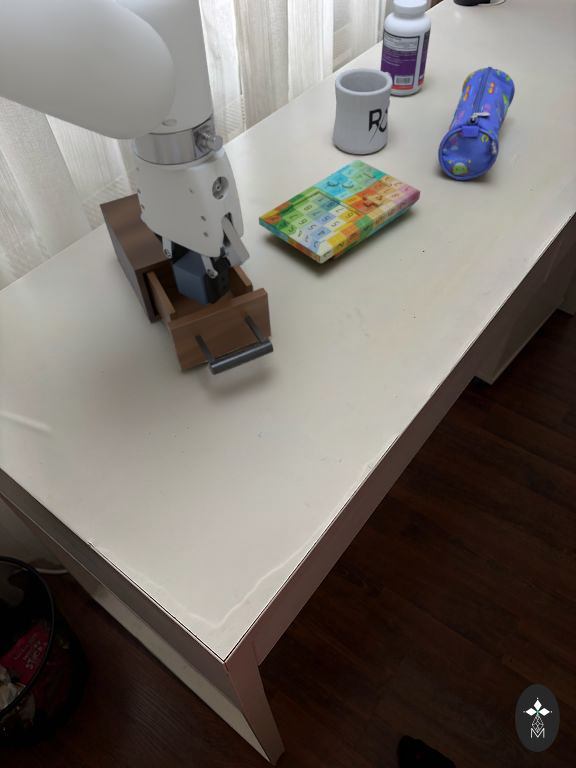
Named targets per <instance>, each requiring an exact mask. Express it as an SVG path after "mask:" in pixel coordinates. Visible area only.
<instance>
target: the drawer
mask: <svg viewBox="0 0 576 768" xmlns="http://www.w3.org/2000/svg"><path fill="white" fill-rule="evenodd" d="M227 270H228V277H229V284H230V289H229V291H228V292H227V293H226V294H225V295H224V296H222V297H221V298H220V299H219V300H218V301H217V302H216V303H215V304H211V303H208V304H207V305H206V306H205V305H203V304H201V303H199V302H197V301H195V300H193V299H191V298H189V297H187V296H185V295H183V294H181V293H179V290H178V287H176V284H175V280H174V276H173V272H172V267H171V264H168V265H165V266H162V267H159V268H156V269H153V270H150V271H147V272H144V273H143V276H144V279H145V283H146V286H147V290H148V293H149V296H150V298H151V300H152V302H153V304H154V306H155V307H156V309H157V311H158V313H159V315H160V317H161V321H162V323H163V324H164V326H165V328H166V330H167V332H168V334H169V336H170V340H171V343H172V347H173V350H174V354H175V357H176V362H177V364H178V366H179V368H180V371H181V372H182V371H185V370H188V369H190V368H193V367H195V366H198V365H200V364H203V363H205V362H207V363H208V368H209V371H210V373H211V374H212V376H216V375H219V374H222V373H224V372H227V371H229V370H232V369H234V368H236V367H239V366H242V365H244V364H247V363H249V362H252V361H255V360H256V359H258V358H259V359H260V358H261V357H264V356H266V355H269V354H272V353H273V352H274V344H273V343H272V341H271V340H269V339H267V338H270V337H272V330H271V329H272V328H271V319H270V318H271V317H270V316H271V315H270V306H269V294H268V292H267V291H266V289H265V288H264V287H260V288H257V289H255V290H254V286H253V285H254V284H253V282H252V281H251V280H250V278H249V277H248V275H247V274H246V272H245V271H244V270H243V268H242V267H241V265H240V266H235V267H229V268H228V269H227ZM257 342H258V343H257ZM254 343H256V344H254ZM251 344H254V345H252V346H249V345H251ZM246 346H249V347H247V348H244V347H246ZM242 348H243V349H242ZM239 349H241V350H239ZM236 350H239V351H236ZM234 351H236V352H234ZM231 352H234V353H231ZM229 353H231V354H229ZM226 354H229V355H226ZM223 355H226V356H224V357H222V356H223ZM218 357H220V358H219V359H216V358H218Z"/></svg>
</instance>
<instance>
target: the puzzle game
mask: <svg viewBox="0 0 576 768" xmlns="http://www.w3.org/2000/svg"><path fill="white" fill-rule="evenodd" d="M420 197H421V190H419V189H417V188H415V187H414V186H411V185H409V184H407V183H406V182H403V181H401V180H399V179H398V178H396V177H393V176H392V175H390V174H387V173H386V172H383V171H381V170H379V169H377V168H376V167H374V166H371V165H370V164H367V163H365V162H364V161H361V160H359V159H355V160H353V161H352V162H350V163H348V164H347V165H345V166H343V167H342V168H340V169H338V170H336V171H335V172H333V173H332V174H330V175H328V176H327V177H325V178H323V179H321V180H320V181H318V182H317V183H315V184H313V185H312V186H310V187H308V188H306V189H305V190H303V191H301V192H300V193H298V194H296V195H294V196H292V197H291V198H290V199H288V200H286V201H284V202H283V203H281V204H279V205H278V206H276V207H275V208H273V209H271V210H269V211H267V212H266V213H264V214H263V215H261V216H259V217H258V225H260V226H261V227H262V228H264V229H266V230H267V231H269V232H270V233H272V234H273V235H275V236H277V237H278V238H280V239H281V240H282V241H284V242H286V243H288V244H290V245H291V246H292V247H293V248H295V249H297V250H299V251H300V252H301V253H303V254H305V255H306V256H307V257H309V258H311V259H312V260H314V261H316V262H317V263H319V264H324V263H325V262H326V261H328V260H329V259H332V260H333V261H335V260H336V259H337V258H339V257H341V255H343V254H345V253H346V252H348V251H350V249H352V248H354V247H355V246H356V245H358V244H360V243H361V242H363V241H364V240H366V239H368V238H369V237H370V236H372V235H373V234H375V233H376V232H378V231H379V230H381V229H382V228H384V227H386V226H387V225H388V224H390V223H392V222H393V221H394V220H396V219H397V218H399V217H400V216H402V215H403V214H405V213H406V212H407V211H409V210H410V209H411V208H412V207H413V206H414V205H415V204H416V203H417V202H418V201H419V200H420Z"/></svg>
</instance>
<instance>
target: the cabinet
mask: <svg viewBox="0 0 576 768" xmlns="http://www.w3.org/2000/svg"><path fill="white" fill-rule="evenodd" d="M99 208H100V210H101V211H100V212H101V214H102V217H103V220H104V223H105V227H106V228H107V233H108V235H109V238H110V241H111V244H112V248H113V249H114V253H115V256H116V259H117V261H118V262H119V265H120V267H121V269H122V271H123V272H124V274H125V277H126V278H127V280H128V282H129V284H130V286H131V288H132V290H133V292H134V295H135V297H136V298H137V300H138V302H139V304H140V306H141V308H142V310H143V311H144V313H145V315H146V318H147V319H148V322H149V323H150V324H153V323H156V322H159V321H162V319H161V317H160V315H159V313H158V311H157V309H156V307H155V306H154V304H153V302H152V300H151V298H150V296H149V293H148V290H147V286H146V283H145V279H144V276H143V273H144V272H147V271H150V270H153V269H156V268H159V267H162V266H165V265H168V264H171V263H170V260H171V258H168V257H167V256H166V255H165V254H164V251H163V244H162V243H161V242H160V241H159V239H158V238H157V237H156V236H155V234H154V232H153V231H152V230H151V229H150V228H149V227H148V226H147V225H146V224H145V223H144V222H143V220H142V219H141V213H142V210H141V206H140V202H139V198H138V193H137V192H136V193H132V194H130V195H125V196H123V197H120V198H117V199H113V200H110V201H107V202H103V203H99Z"/></svg>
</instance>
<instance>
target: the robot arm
mask: <svg viewBox="0 0 576 768" xmlns="http://www.w3.org/2000/svg"><path fill="white" fill-rule="evenodd" d="M203 29H204V28H203V22H202V15H201V8H200V0H0V97H1V98H3V99H6V100H8V101H11V102H13V103H15V104H18V105H21V106H23V107H26V108H29V109H32V110H34V111H37V112H39V113H42V114H44V115H46V116H50V117H52V118H55V119H57V120H60V121H62V122H63V121H64V122H66V123H68V124H70V125H71V124H72V125H74V126H76V127H79V128H83V129H85V130H88V131H89V132H93V133H95V134H98V135H101V136H104V137H107V138H110V139H113V140H130V141H131V157H132V169H133V175H134V183H135V188H136V193H138V198H139V202H140V206H141V210H142V213H141V219H142V220H143V222H144V223H145V224H146V225H147V226H148V227H149V228H150V229H151V230H152V231H153V232H154V234H155V236H156V237H157V238H158V239H159V241H160V242H161V243H162V244H163V251H164V254H165V255H166V256H167V257H168V258H171V260H170V263H171V267H172V272H173V276H174V280H175V284H176V287H178V286H177V282H176V277H175V273H174V269H173V264H174V263H176V262H177V261H178V260H180V259H181V258H182V257H183V256H184V255H186V254H187V253H188V252H189V251H191V250H193V251H195V252H198V253H200V254H201V257H202V260H203V263H204V266H205V269H206V272H207V273H206V274H205V275H204V282H205V287H206V292H207V298H208V302H209V303H211V304H215V303H216V302H217V301H218V300H219V299H220V298H221V297H222V296H224V295H225V294H226V293H227V292H228V291H229V289H230V284H229V277H228V270H227V269H228V268H229V267H235V266H240V267H241V266H243V265H244V264H245V263H246V262H247V261H248V260H249V259H250V257H251V256H250V253H249V251H248V249H247V248H246V246H245V244H244V243H243V241H242V239H241V238H242V237H243V236H244V234H245V233H244V232H245V230H244V220H243V213H242V206H241V202H240V195H239V192H238V187H237V182H236V178H235V175H234V171H233V168H232V166H231V162H230V159H229V156H228V154H227V152H226V148H224V147H223V144H224V142H223V141H224V139H223V137H222V136H221V135H220V134H218V133H217V128H216V121H215V114H214V105H213V98H212V89H211V83H210V74H209V66H208V61H207V60H208V59H207V52H206V51H207V50H206V44H205V38H204V37H205V36H204V30H203ZM218 256H219V259H217V260H216V261H214V258H213V257H218Z"/></svg>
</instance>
